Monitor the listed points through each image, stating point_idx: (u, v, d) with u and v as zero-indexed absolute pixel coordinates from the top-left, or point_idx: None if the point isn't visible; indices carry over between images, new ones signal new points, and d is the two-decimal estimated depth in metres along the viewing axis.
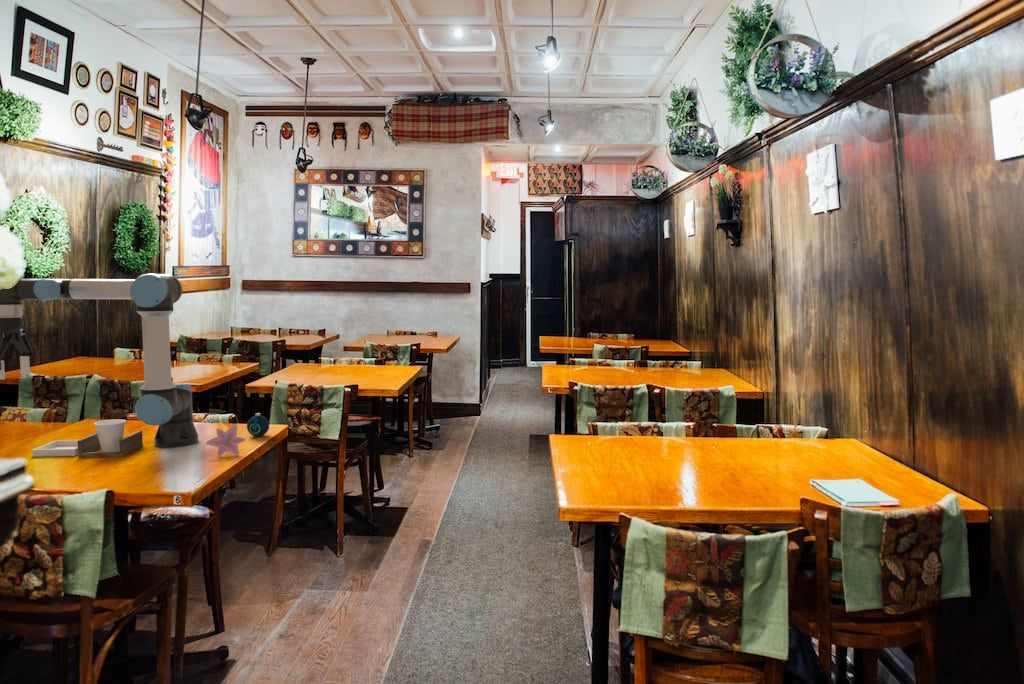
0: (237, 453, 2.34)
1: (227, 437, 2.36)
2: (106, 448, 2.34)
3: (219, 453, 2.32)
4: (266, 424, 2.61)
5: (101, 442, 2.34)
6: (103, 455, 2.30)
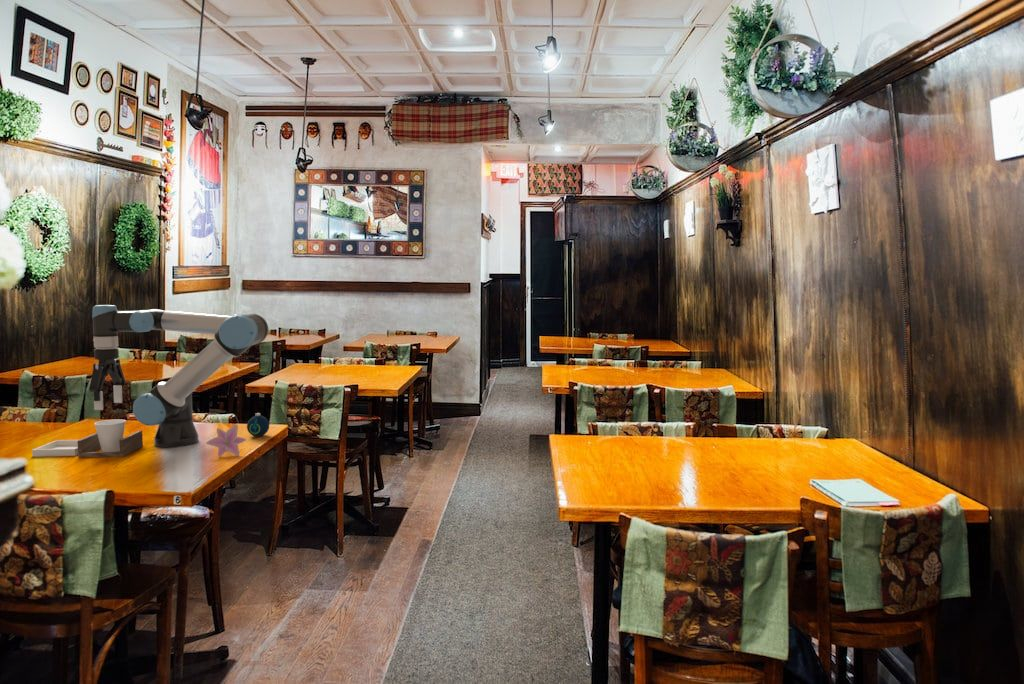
0: (237, 453, 2.34)
1: (228, 438, 2.36)
2: (106, 448, 2.34)
3: (219, 454, 2.32)
4: (266, 424, 2.61)
5: (101, 442, 2.34)
6: (103, 455, 2.30)
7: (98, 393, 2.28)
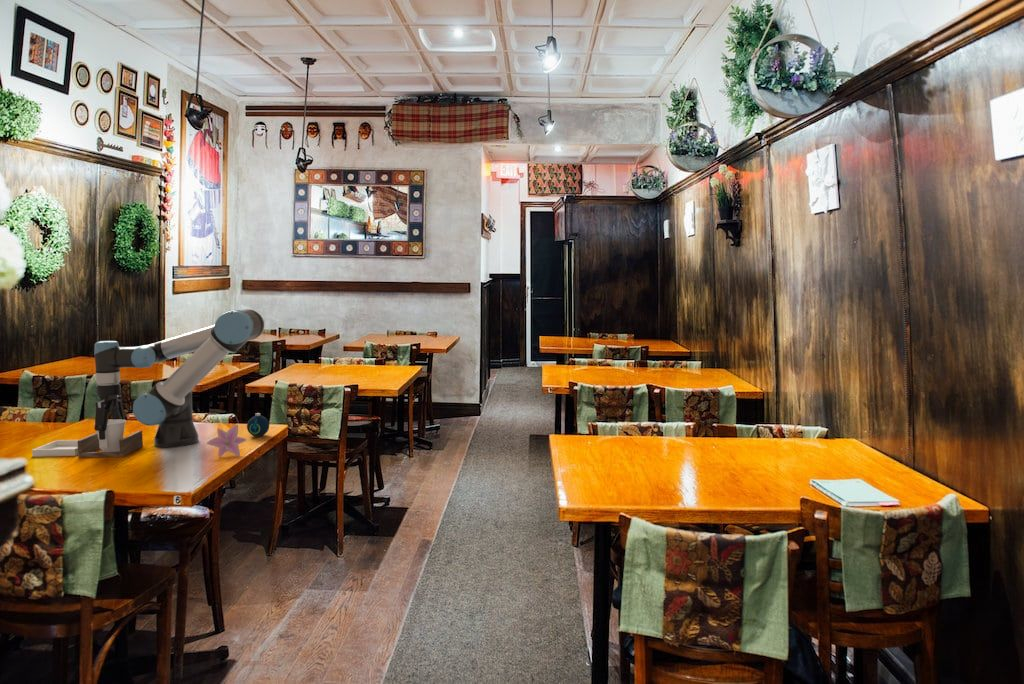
0: (238, 453, 2.33)
1: (228, 438, 2.36)
2: (106, 448, 2.34)
3: (219, 454, 2.32)
4: (266, 424, 2.61)
5: None
6: (103, 455, 2.30)
7: (103, 432, 2.31)
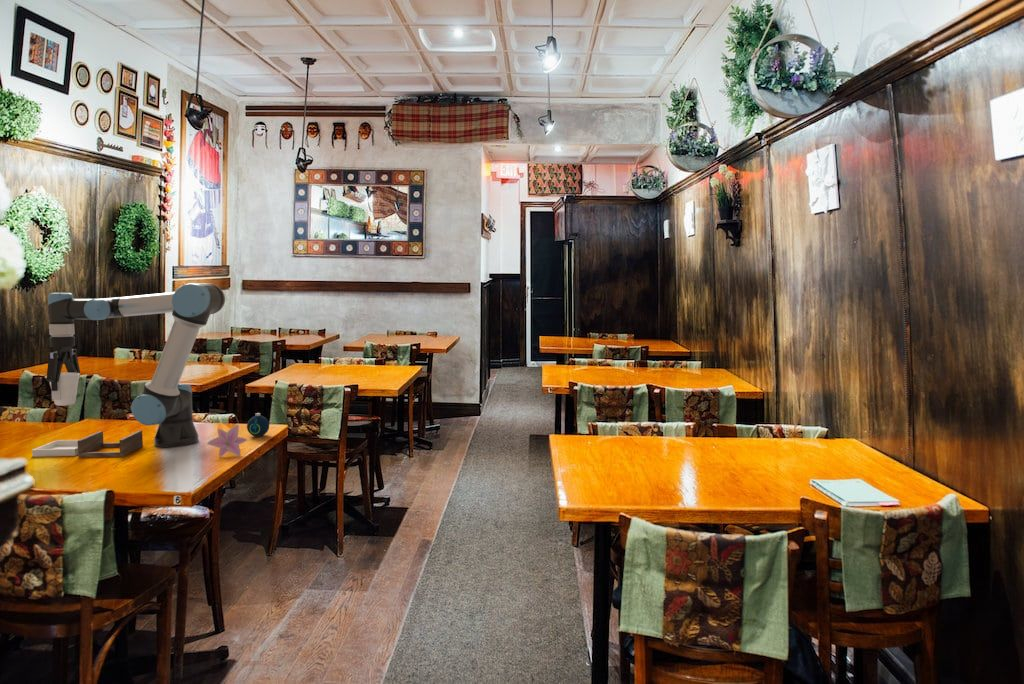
0: (239, 453, 2.33)
1: (229, 438, 2.36)
2: (59, 400, 2.33)
3: (220, 454, 2.32)
4: (266, 424, 2.61)
5: None
6: (103, 455, 2.30)
7: (56, 383, 2.30)
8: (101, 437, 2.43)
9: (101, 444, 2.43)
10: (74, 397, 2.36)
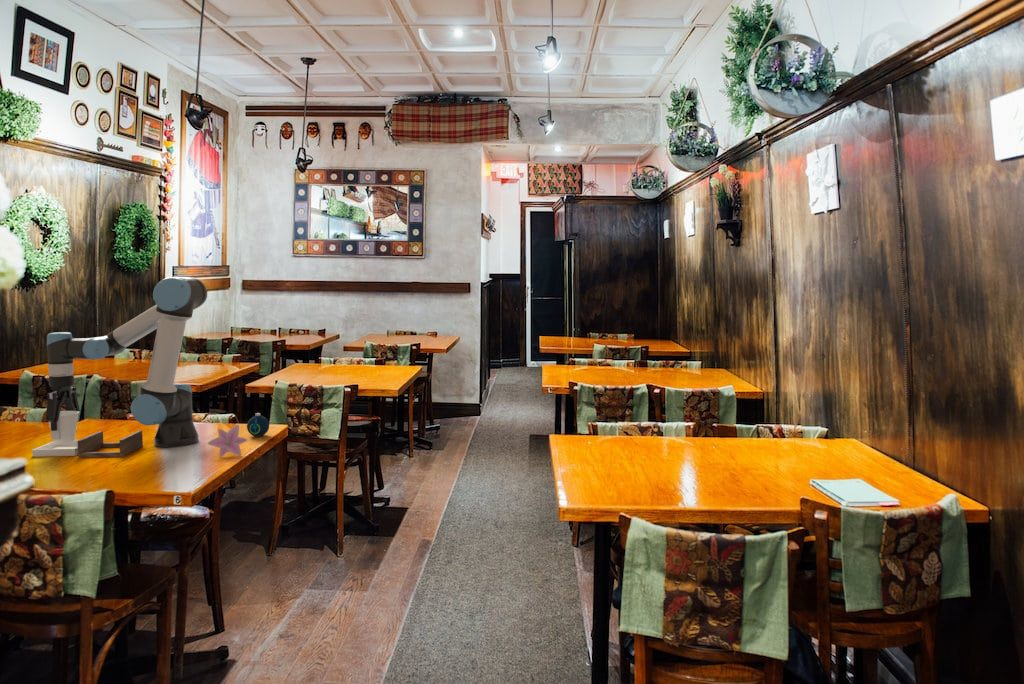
0: (239, 453, 2.33)
1: (229, 438, 2.36)
2: (58, 439, 2.34)
3: (221, 454, 2.31)
4: (266, 424, 2.61)
5: None
6: (103, 455, 2.30)
7: (55, 423, 2.31)
8: (101, 437, 2.43)
9: (101, 444, 2.43)
10: (73, 436, 2.38)
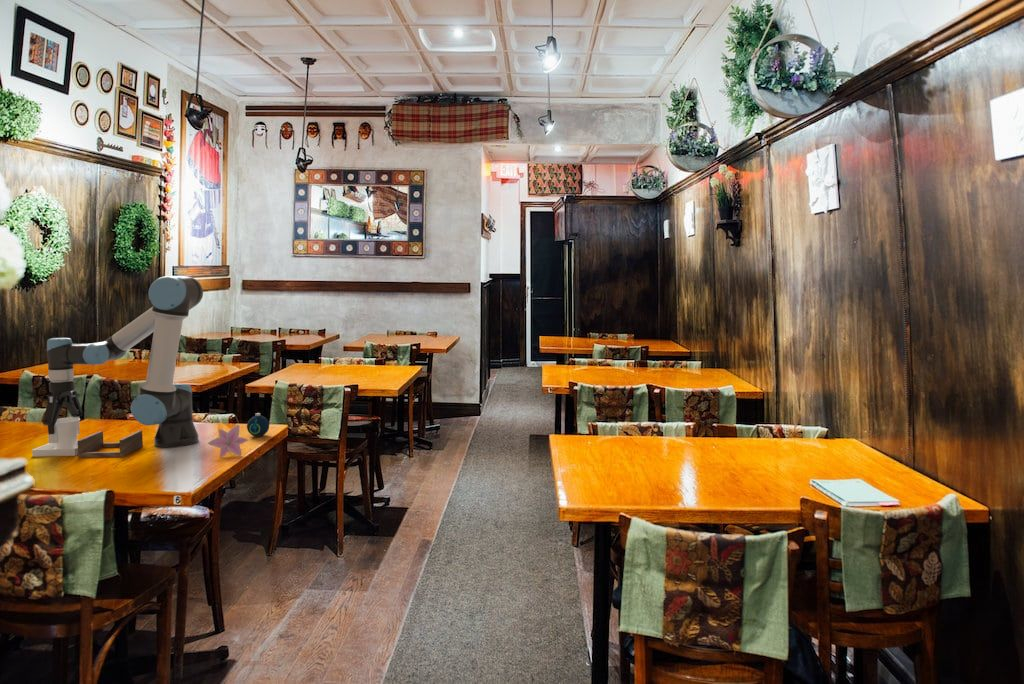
0: (240, 453, 2.33)
1: (229, 438, 2.36)
2: (59, 446, 2.34)
3: (221, 454, 2.31)
4: (266, 424, 2.61)
5: None
6: (103, 455, 2.30)
7: (52, 426, 2.29)
8: (101, 437, 2.43)
9: (101, 444, 2.43)
10: (74, 443, 2.38)
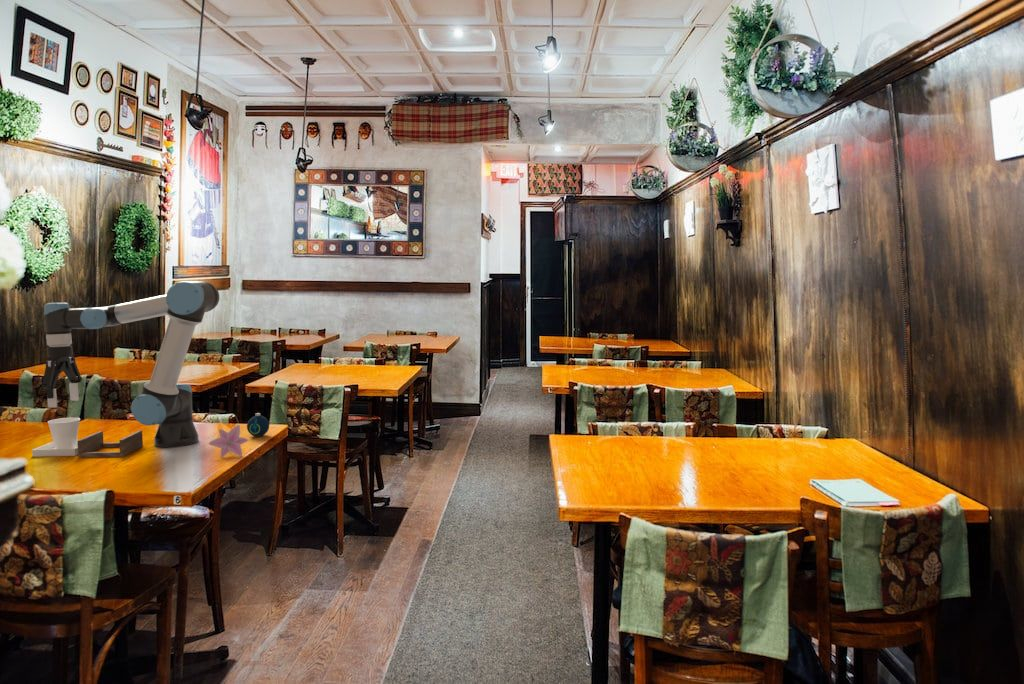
0: (240, 454, 2.33)
1: (230, 438, 2.36)
2: (59, 446, 2.34)
3: (222, 454, 2.31)
4: (266, 424, 2.61)
5: (54, 440, 2.34)
6: (103, 455, 2.30)
7: (51, 390, 2.28)
8: (101, 437, 2.43)
9: (101, 444, 2.43)
10: (74, 443, 2.38)
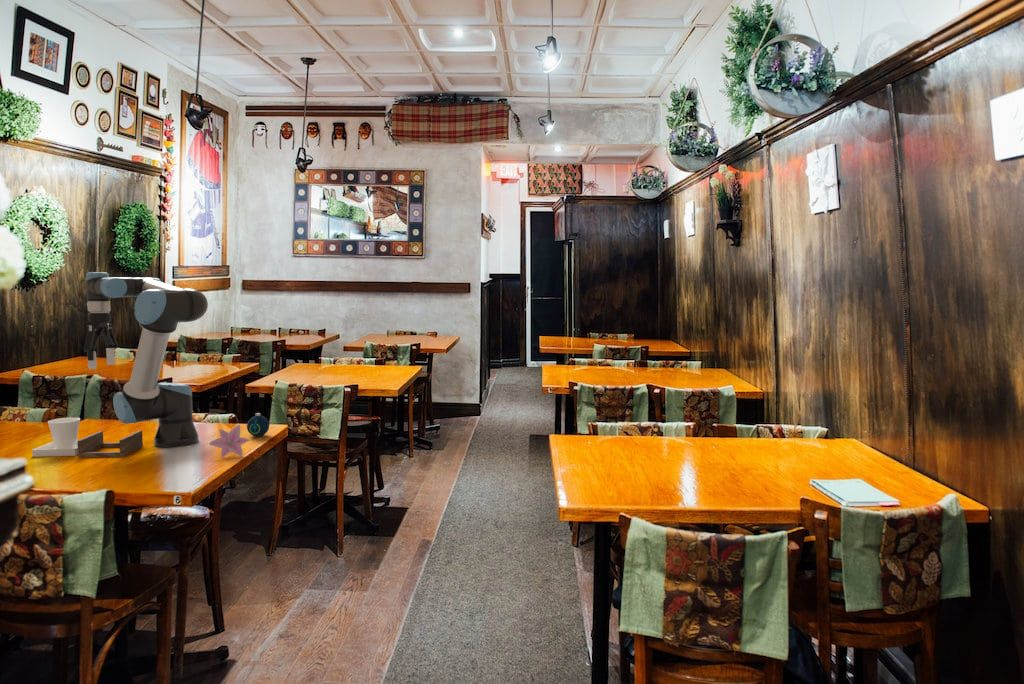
0: (241, 454, 2.33)
1: (230, 438, 2.35)
2: (59, 446, 2.34)
3: (222, 454, 2.31)
4: (266, 424, 2.61)
5: (54, 440, 2.34)
6: (103, 455, 2.30)
7: (92, 353, 2.45)
8: (101, 437, 2.43)
9: (101, 444, 2.43)
10: (74, 443, 2.38)
